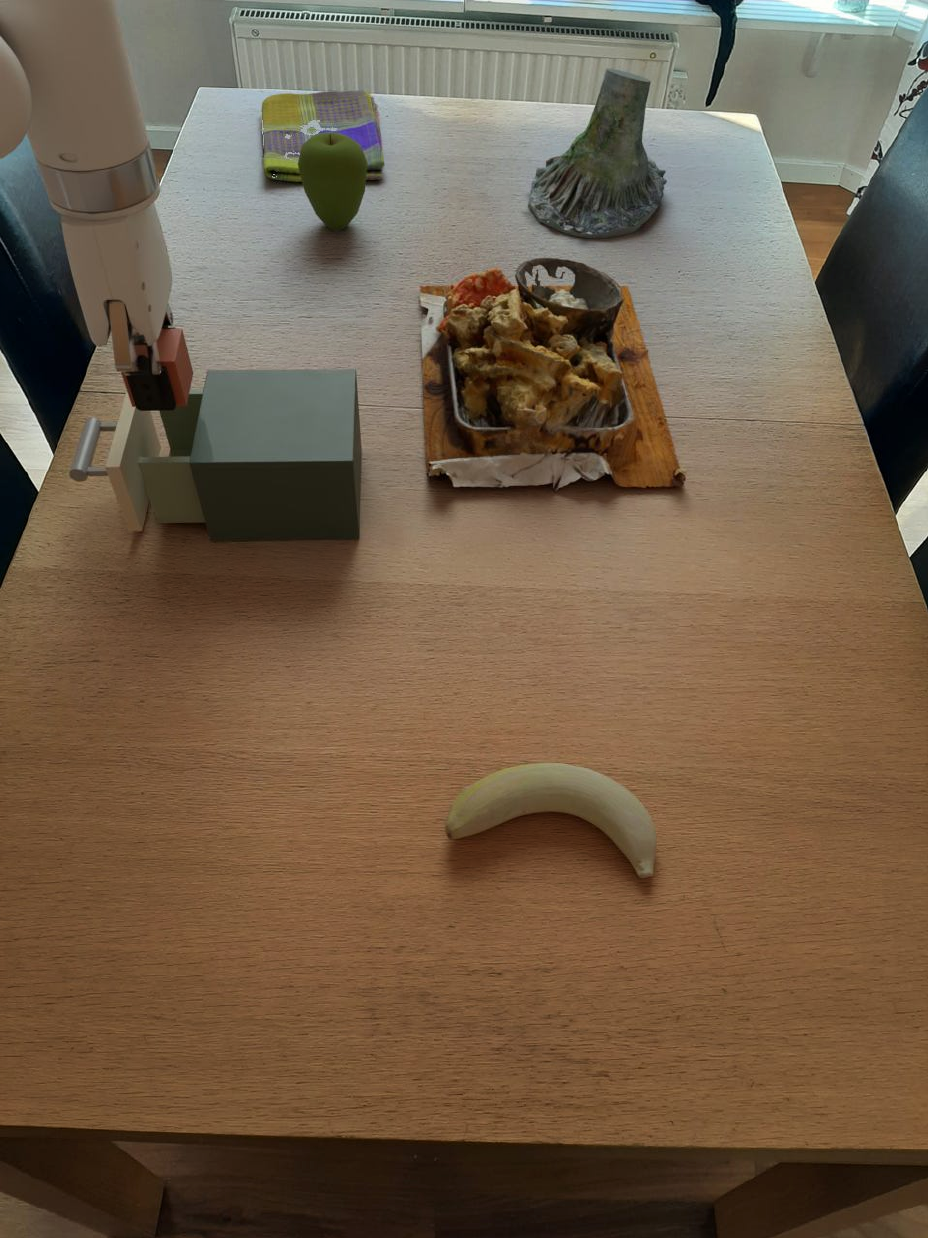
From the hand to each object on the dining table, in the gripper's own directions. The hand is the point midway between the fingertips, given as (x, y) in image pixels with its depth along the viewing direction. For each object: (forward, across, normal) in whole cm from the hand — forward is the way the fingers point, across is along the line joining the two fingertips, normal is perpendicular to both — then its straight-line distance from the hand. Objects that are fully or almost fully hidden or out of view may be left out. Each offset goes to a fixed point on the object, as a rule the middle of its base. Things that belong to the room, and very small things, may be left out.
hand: (161, 386), depth 77 cm
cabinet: (+13, 0, +9) cm, 16 cm away
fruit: (+13, +36, +30) cm, 49 cm away
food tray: (+13, -17, +35) cm, 41 cm away
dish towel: (+13, -73, +9) cm, 75 cm away
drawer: (+12, 0, -1) cm, 12 cm away
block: (0, 0, 0) cm, 0 cm away
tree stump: (+13, -57, +47) cm, 75 cm away
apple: (+13, -50, +12) cm, 53 cm away
